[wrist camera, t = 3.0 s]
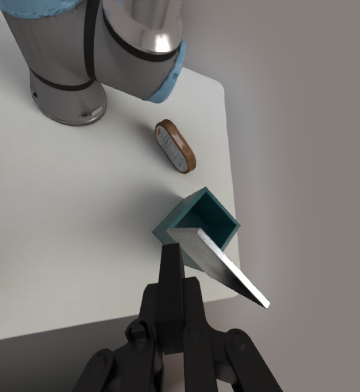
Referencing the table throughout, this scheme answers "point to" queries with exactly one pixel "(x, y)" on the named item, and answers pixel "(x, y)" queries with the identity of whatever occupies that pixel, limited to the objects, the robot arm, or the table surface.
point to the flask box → (199, 222)
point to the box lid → (215, 262)
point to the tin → (175, 146)
